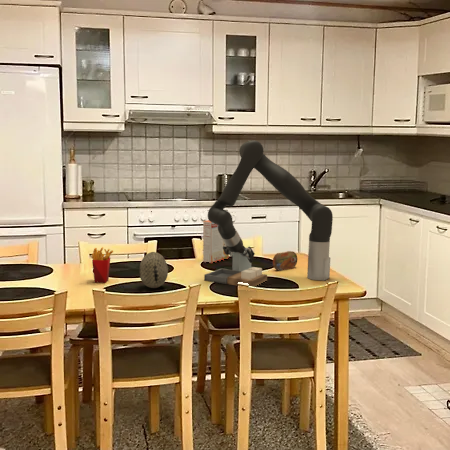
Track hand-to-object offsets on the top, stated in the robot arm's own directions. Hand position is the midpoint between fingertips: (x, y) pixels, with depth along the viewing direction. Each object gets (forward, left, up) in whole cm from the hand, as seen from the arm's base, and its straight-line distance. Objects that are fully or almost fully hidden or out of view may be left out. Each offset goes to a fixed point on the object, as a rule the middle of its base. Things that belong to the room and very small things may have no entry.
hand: (243, 260), depth 287 cm
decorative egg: (+16, +48, -5) cm, 51 cm away
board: (-12, +18, -5) cm, 22 cm away
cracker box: (+22, -12, -5) cm, 26 cm away
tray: (0, +18, -5) cm, 19 cm away
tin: (-14, -16, -6) cm, 22 cm away
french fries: (+39, +53, -5) cm, 66 cm away
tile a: (-14, +15, -2) cm, 21 cm away
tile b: (-14, +21, -2) cm, 26 cm away
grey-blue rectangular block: (0, +1, -5) cm, 5 cm away
